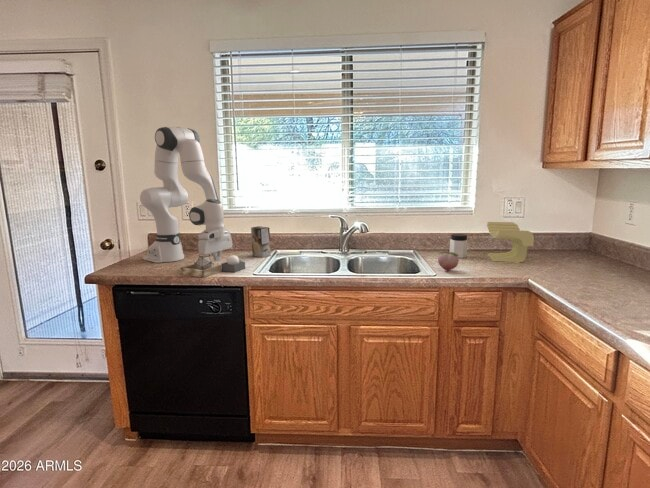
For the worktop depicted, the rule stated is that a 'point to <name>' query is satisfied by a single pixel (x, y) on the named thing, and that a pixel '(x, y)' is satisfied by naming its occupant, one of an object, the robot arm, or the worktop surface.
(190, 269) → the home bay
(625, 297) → the worktop surface
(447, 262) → the decorative fruit
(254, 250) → the coffee box
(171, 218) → the robot arm
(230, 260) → the cream ball
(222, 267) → the base
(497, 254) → the olive c-shaped block
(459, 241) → the jar
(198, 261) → the grey spiky ball
